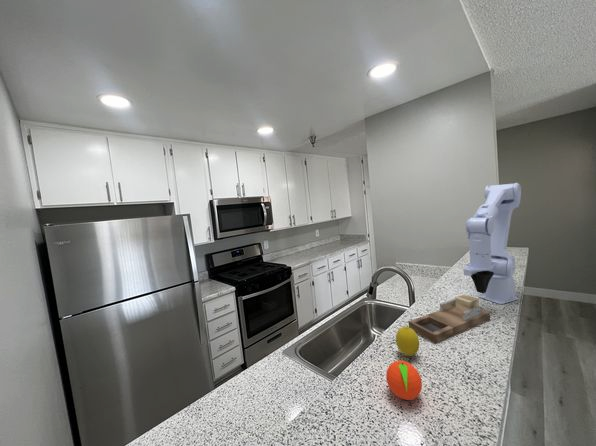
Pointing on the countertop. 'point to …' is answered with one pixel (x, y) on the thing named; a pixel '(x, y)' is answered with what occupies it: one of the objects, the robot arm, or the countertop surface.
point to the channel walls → (465, 315)
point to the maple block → (466, 303)
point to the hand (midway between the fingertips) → (481, 292)
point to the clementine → (404, 380)
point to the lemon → (407, 341)
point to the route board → (445, 324)
